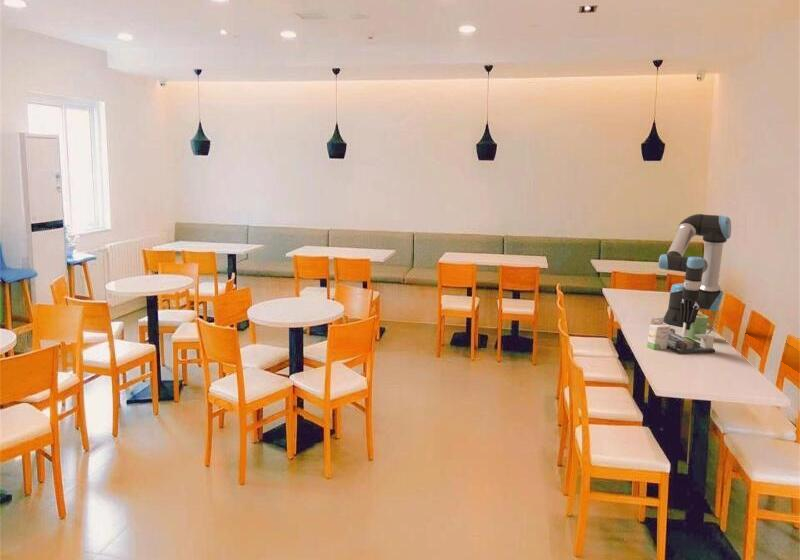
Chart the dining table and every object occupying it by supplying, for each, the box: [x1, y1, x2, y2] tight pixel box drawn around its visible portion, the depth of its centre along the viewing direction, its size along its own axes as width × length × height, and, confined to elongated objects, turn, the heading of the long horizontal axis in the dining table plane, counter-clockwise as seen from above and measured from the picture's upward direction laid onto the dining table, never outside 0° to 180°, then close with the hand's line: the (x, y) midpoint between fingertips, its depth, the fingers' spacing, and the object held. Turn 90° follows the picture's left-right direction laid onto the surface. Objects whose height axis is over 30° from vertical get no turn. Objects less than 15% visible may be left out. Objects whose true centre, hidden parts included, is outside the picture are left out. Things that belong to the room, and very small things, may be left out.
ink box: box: [646, 317, 671, 350], centre depth 308 cm, size 9×5×15 cm, turn 113°
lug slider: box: [695, 333, 715, 349], centre depth 306 cm, size 8×4×6 cm, turn 102°
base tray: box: [666, 327, 716, 355], centre depth 313 cm, size 20×22×6 cm
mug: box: [684, 312, 713, 341], centre depth 330 cm, size 13×10×12 cm
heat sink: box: [668, 337, 685, 346], centre depth 312 cm, size 8×8×3 cm
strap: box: [669, 331, 694, 344], centre depth 311 cm, size 3×19×1 cm, turn 12°
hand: (685, 335), depth 307 cm, fingers closed
